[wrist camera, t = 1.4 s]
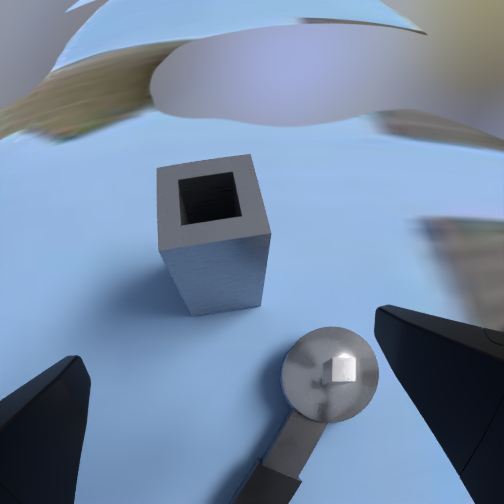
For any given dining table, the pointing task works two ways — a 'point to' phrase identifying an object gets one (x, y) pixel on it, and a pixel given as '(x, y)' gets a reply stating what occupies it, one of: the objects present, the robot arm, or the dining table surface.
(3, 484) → the robot arm
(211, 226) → the socket
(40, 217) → the dining table surface
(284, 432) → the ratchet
